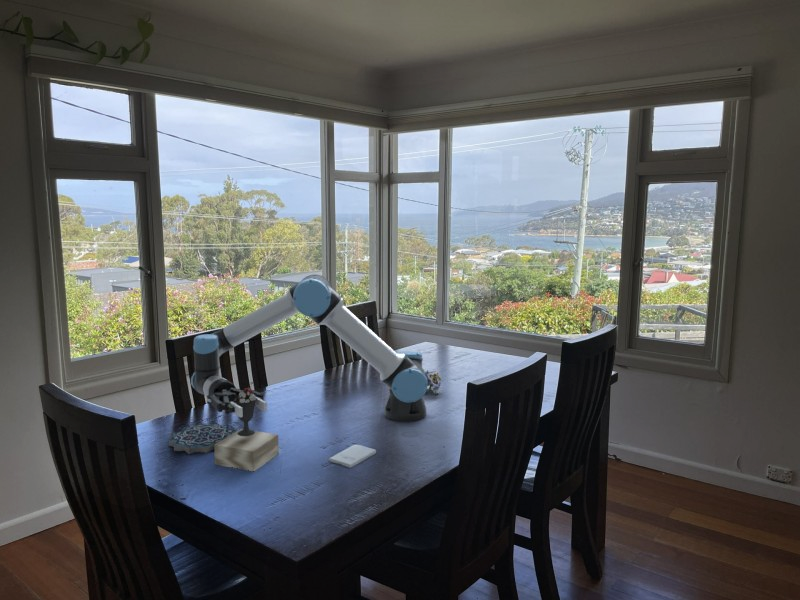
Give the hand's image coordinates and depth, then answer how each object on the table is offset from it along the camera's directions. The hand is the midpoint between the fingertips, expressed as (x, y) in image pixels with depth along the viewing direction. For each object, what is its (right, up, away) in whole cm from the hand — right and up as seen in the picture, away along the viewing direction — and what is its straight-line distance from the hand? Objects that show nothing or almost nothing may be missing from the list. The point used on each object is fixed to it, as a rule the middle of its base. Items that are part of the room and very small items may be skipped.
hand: (253, 409), depth 164 cm
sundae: (-3, -8, +5) cm, 10 cm away
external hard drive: (+27, -16, +8) cm, 33 cm away
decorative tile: (-21, -14, +20) cm, 32 cm away
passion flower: (+52, -7, +70) cm, 87 cm away
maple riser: (-3, -16, +6) cm, 17 cm away
